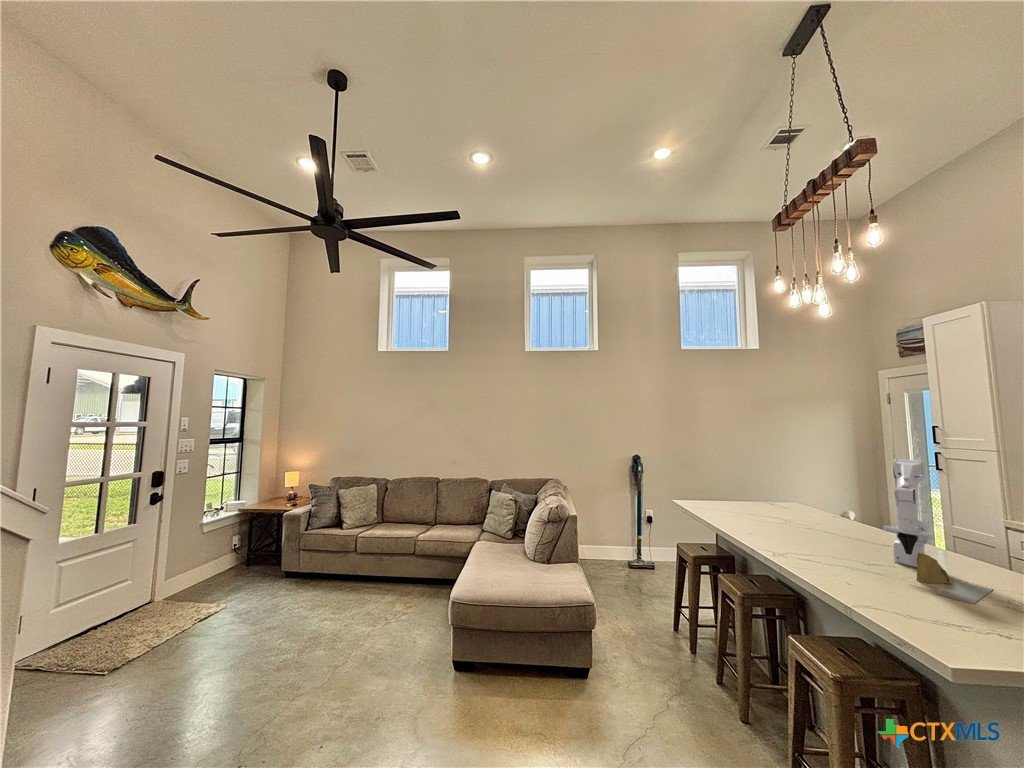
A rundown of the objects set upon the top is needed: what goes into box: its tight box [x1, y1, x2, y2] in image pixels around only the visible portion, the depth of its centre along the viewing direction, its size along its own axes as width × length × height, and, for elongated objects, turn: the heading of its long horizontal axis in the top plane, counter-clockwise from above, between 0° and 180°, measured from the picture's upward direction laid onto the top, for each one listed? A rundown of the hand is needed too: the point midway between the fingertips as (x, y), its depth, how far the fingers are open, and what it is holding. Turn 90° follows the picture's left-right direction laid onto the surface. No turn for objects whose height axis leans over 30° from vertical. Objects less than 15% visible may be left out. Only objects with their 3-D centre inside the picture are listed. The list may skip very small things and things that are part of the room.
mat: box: [936, 580, 994, 605], centre depth 151 cm, size 9×24×1 cm, turn 121°
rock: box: [916, 553, 953, 584], centre depth 160 cm, size 11×9×10 cm
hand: (908, 553), depth 166 cm, fingers closed
